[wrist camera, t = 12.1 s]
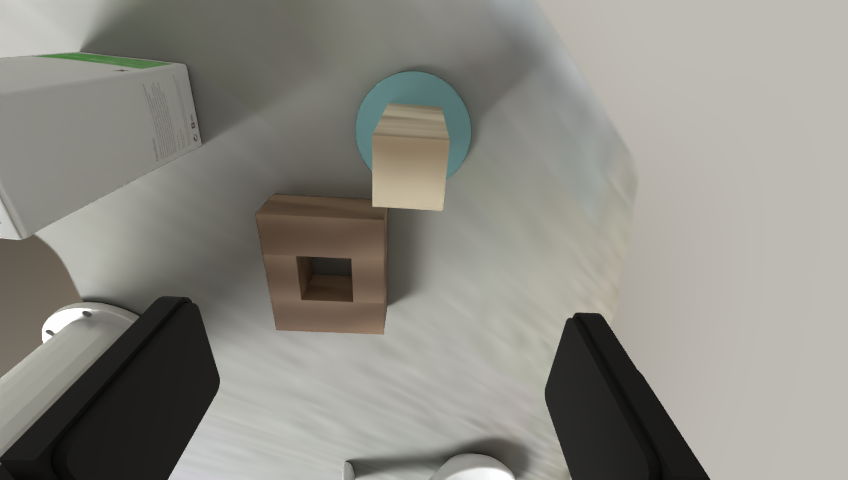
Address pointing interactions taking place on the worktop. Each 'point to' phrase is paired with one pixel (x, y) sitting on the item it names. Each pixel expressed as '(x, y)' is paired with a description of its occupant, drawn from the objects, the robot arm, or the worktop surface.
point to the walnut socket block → (325, 237)
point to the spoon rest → (460, 469)
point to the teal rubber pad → (415, 92)
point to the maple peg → (410, 157)
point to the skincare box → (84, 131)
